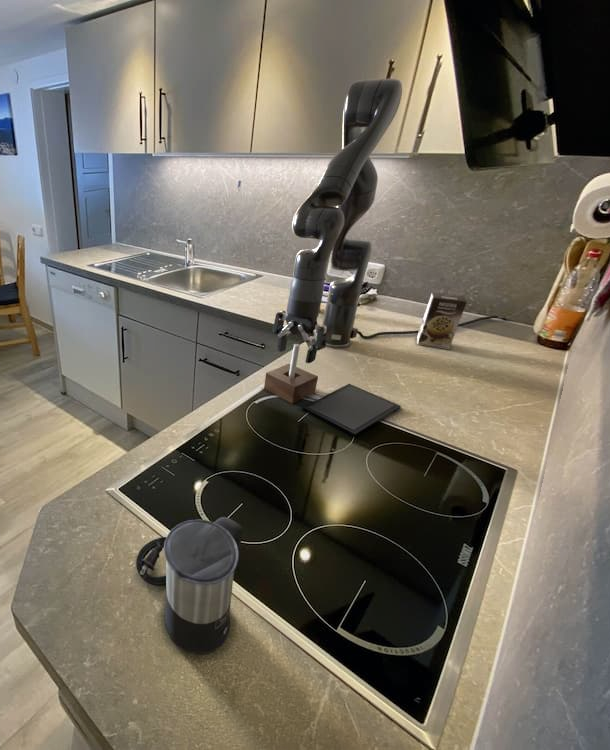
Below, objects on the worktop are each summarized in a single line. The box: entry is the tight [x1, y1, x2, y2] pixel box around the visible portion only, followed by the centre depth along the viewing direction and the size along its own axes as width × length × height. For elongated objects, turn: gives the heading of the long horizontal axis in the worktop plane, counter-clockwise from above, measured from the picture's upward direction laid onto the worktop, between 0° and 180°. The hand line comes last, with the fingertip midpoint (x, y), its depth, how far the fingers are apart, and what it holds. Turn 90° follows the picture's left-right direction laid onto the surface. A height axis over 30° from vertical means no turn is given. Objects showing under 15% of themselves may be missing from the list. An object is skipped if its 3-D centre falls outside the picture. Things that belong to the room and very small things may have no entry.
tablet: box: [301, 383, 402, 438], centre depth 103 cm, size 20×14×1 cm
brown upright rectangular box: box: [416, 292, 468, 350], centre depth 134 cm, size 9×6×16 cm
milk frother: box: [135, 516, 244, 655], centre depth 57 cm, size 14×16×15 cm
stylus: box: [289, 343, 301, 379], centre depth 109 cm, size 1×1×14 cm
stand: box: [263, 363, 319, 405], centre depth 111 cm, size 9×9×5 cm
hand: (295, 356), depth 107 cm, fingers open, 8 cm apart
